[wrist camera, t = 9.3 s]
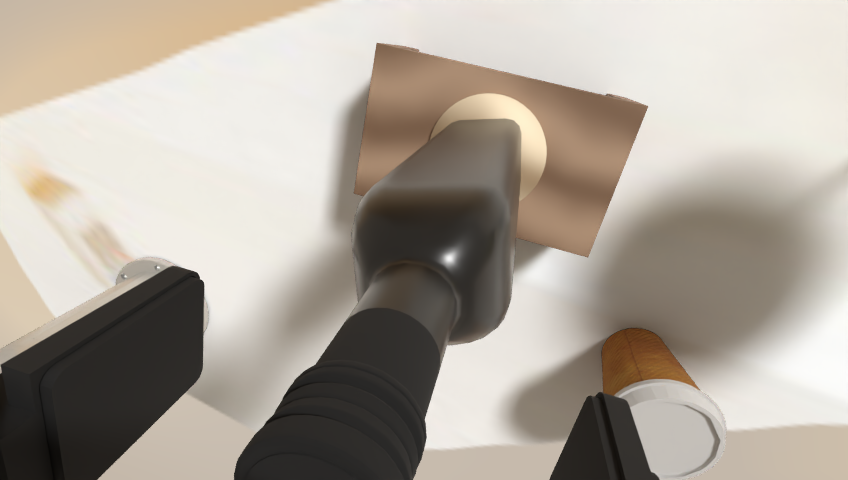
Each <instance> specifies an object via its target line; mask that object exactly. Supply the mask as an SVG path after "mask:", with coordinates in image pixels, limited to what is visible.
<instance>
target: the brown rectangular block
mask: <svg viewBox="0 0 848 480" xmlns="http://www.w3.org/2000/svg"><path fill="white" fill-rule="evenodd" d="M647 108H648V106H646V105H644V104H641V103H638V102H636V101H633V100H630V99H628V98H625V97H620V96H616V95H612V94H607V96H605V95H601V94H597V93H592V92H588V91H584V90H579V89H575V88H571V87H567V86H562V85H558V84H554V83H549V82H545V81H541V80H537V79H532V78H528V77H524V76H519V75H515V74H511V73H507V72H502V71H498V70H494V69H489V68H485V67H481V66H477V65H472V64H468V63H464V62H459V61H455V60H451V59H447V58H442V57H438V56H434V55H429V54H425V53H421V52H419V50H418V49H414V48H410V47H405V46H399V45H390V44H382V43H377V44H376V51H375V58H374V64H373V71H372V77H371V84H370V90H369V97H368V104H367V110H366V117H365V123H364V130H363V136H362V143H361V149H360V156H359V163H358V169H357V176H356V182H355V189H354V194H358V195H361V196H365V194H366V193H367V192H368V191H369V190H370V189H371V187H372V186H374V185H375V184H376V183H377V182H379V181H380V180H381V179H382V178H384V177H385V176H386V175H387V174H389V173H390V172H391V171H392V170H394V169H395V168H396V167H397V166H398V165H400V164H401V163H402V162H403V161H405V160H406V159H407V158H408V157H410V156H411V155H412V154H413V153H415V152H416V151H417V150H418V149H420V148H421V147H422V146H423V145H424V144H426V143H427V142H428V141H429V140H431V139H432V138H433V137H434V136H436V135H437V134H438V133H439V132H441V131H442V130H443V129H444V128H446V127H447V126H448V125H449V124H450V123H452V122H455V121H458V120H477V119H503V118H506V119H510V120H514V121H515V122H516V123H517V124H518V125H519V126H520V130H521V184H520V196H519V208H518V220H517V233H516V238H519V239H523V240H526V241H530V242H534V243H537V244H541V245H545V246H548V247H552V248H556V249H559V250H563V251H566V252H570V253H574V254H577V255H581V256H585V257H588V256H589V254H590V251H591V248H592V246H593V243H594V241H595V238H596V236H597V233H598V231H599V228H600V226H601V223H602V221H603V218H604V216H605V213H606V211H607V208H608V206H609V203H610V201H611V198H612V196H613V193H614V191H615V188H616V186H617V183H618V181H619V178H620V176H621V173H622V171H623V168H624V166H625V163H626V161H627V158H628V156H629V153H630V151H631V148H632V146H633V143H634V141H635V138H636V136H637V133H638V131H639V128H640V126H641V123H642V121H643V118H644V116H645V113H646V111H647Z"/></svg>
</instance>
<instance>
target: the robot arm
mask: <svg viewBox="0 0 848 480" xmlns="http://www.w3.org/2000/svg"><path fill="white" fill-rule="evenodd" d="M207 324H208V307H207V303H206V300H205V298H204V282H203V281H202V280H200V277H199V275H198V273H196V272H194V271H191V270H188V269H184V268H181V267H178V266H176V265H174V264H172V263H171V262H168V261H166V260H163V259H159V258H153V257H146V258H140V259H137V260H135V261H133V262H131V263H129V264H127V265H126V266H125V267H123V268H122V270H121V271H120V272H119V274H118V277H117V279H116V285H115V286H114V287H112V288H110V289H108V290H106V291H105V292H103V293H101V294H99V295H97V296H96V297H94V298H92V299H90V300H88V301H86V302H85V303H83V304H81V305H79V306H77V307H75V308H74V309H72V310H70V311H68V312H66V313H65V314H63V315H61V316H59V317H57V318H55V319H54V320H52V321H50V322H48V323H47V324H45V325H43V326H41V327H39V328H37V329H35V330H34V331H32V332H30V333H28V334H26V335H25V336H23V337H21V338H19V339H17V340H16V341H14V342H12V343H10V344H8V345H6V346H5V347H3V348H1V349H0V480H97V479H98V478H99V477H100V476H101V475H102V474H103V473H104V472H105V471H106V470H107V469H108V468H109V467H110V466H111V465H112V464H113V463H114V462H115V461H116V460H117V459H118V458H120V457H121V456H122V455H123V454H124V452H126V451H127V450H128V449H129V448H130V446H132V444H134V443H135V442H136V441H137V440H138V439H139V438H140V437H141V436H142V435H143V434H144V433H145V432H146V431H147V430H148V429H149V428H150V427H151V426H152V425H153V424H154V423H155V422H156V421H157V420H158V419H159V418H160V417H161V416H162V415H163V414H164V413H165V412H166V411H167V410H168V409H169V408H170V407H171V406H172V405H173V404H174V403H175V402H176V401H177V400H178V399H179V398H180V397H181V396H182V395H183V394H184V393H185V392H186V391H187V390H188V389H189V388H190V387H191V386H192V385H194V384H195V382H196V381H197V380H198V378H199V377H200V375H201V372H202V368H203V333H204V331H205V329H206V328H207ZM550 480H660V479H659V477H658V476H657V475H656V474H655V473H653V472H651V471H650V467H649V464H648V461H647V458H646V455H645V452H644V449H643V446H642V443H641V440H640V437H639V434H638V431H637V428H636V425H635V422H634V419H633V415H632V412H631V409H630V406H629V404H628V402H627V400H625V399H622V398H619V397H616V396H612V395H609V394H605V393H602V392H599V393H598V394H597V395H596V396H595V397H592V396H588V397H587V399H586V400H585V402H584V405H583V407H582V409H581V411H580V413H579V416H578V418H577V420H576V422H575V424H574V426H573V429H572V431H571V433H570V435H569V437H568V440H567V442H566V444H565V446H564V449H563V451H562V453H561V455H560V457H559V460H558V462H557V464H556V466H555V468H554V470H553V472H552V475H551V477H550Z"/></svg>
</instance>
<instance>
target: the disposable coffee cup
mask: <svg viewBox="0 0 848 480" xmlns="http://www.w3.org/2000/svg"><path fill="white" fill-rule="evenodd" d="M602 372H603V393H605V394H609V395H612V396H616V397H619V398H622V399H625V400H627V402H628V404H629V406H630V409H631V412H632V415H633V419H634V422H635V425H636V428H637V431H638V434H639V437H640V440H641V443H642V446H643V449H644V452H645V455H646V458H647V461H648V464H649V467H650V471H651V472H653V473H655V474H656V475H657V476H658V477H659V479H660V480H686V479H689V478H692V477H695V476H698V475H701V474H702V473H704V472H706V471H707V470H709V469H710V468H712V467H713V466H714V465H715V464H716V463H717V461H719V459H720V458H721V456H722V454H723V452H724V448H725V443H726V441H725V440H726V437H725V436H726V421H725V418H724V416H723V413H722V412H721V410H720V408H719V407H718V405H717V404H716V403H715V402H714V401H713V400H712V399H711V398H710V397H709V396H708V395H706V394H704V393H703V392H701V391H700V390H699V388H698V387H697V386H696V384H695V383H694V381H693V380H692V379H691V378H690V376H689V375H688V374H687V373H686V371H685V370H684V369H683V367H682V366H681V365H680V363H679V362H678V361H677V359H676V358H675V357H674V356H673V354H672V353H671V352H670V350H669V349H668V348H667V346H666V345H665V344H664V342H663V341H662V340H661V338H659V337H658V336H657V335H656V334H654V333H653V332H651V331H648V330H645V329H639V328H630V329H625V330H621V331H619V332H616V333H615V334H613V335H612V336H610V337H609V338H608V339H607V340H606V342H605V344H604V345H603V349H602Z"/></svg>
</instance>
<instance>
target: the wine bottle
mask: <svg viewBox="0 0 848 480" xmlns="http://www.w3.org/2000/svg"><path fill="white" fill-rule="evenodd" d="M520 184H521V130H520V126H519V125H518V124H517V123H516V122H515V121H514V120H510V119H506V118H503V119H477V120H458V121H455V122H452V123H450V124H449V125H448V126H447V127H446V128H444V129H443V130H442V131H441V132H439V133H438V134H437V135H436V136H434V137H433V138H432V139H431V140H429V141H428V142H427V143H426V144H424V145H423V146H422V147H421V148H420V149H418V150H417V151H416V152H415V153H413V154H412V155H411V156H410V157H408V158H407V159H406V160H405V161H403V162H402V163H401V164H400V165H398V166H397V167H396V168H395V169H394V170H392V171H391V172H390V173H389V174H387V175H386V176H385V177H384V178H382V179H381V180H380V181H379V182H377V183H376V184H375V185H374V186H372V187H371V189H370V190H369V191H368V192H367V193H366V194H365V196H364V197H363V198H362V200H361V201H360V203H359V205H358V208H357V212H356V216H355V220H354V224H353V228H352V232H351V238H352V249H353V258H354V268H355V277H356V287H357V296H358V304H357V305H356V307H355V308H354V310H353V311H352V313H351V314H350V315H349V317H348V318H347V320H346V321H345V323H344V324H343V326H342V327H341V328H340V330H339V331H338V333H337V334H336V336H335V337H334V339H333V340H332V341H331V343H330V344H329V346H328V347H327V349H326V350H325V352H324V353H323V354H322V356H321V357H320V359H319V360H318V362H317V363H316V365H314V366H312V367H311V368H309V369H307V370H305V371H304V372H303V373H302V374H301V375H300V376H299V377H297V378H296V379H295V381H294V382H293V384H292V385H291V386H290V388H289V389H288V391H287V392H286V394H285V395H284V397H283V400H282V401H281V403H280V404H279V406H278V408H277V409H276V411H275V413H274V415H273V416H272V417H271V418H270V419H269V420H268V421H267V422H266V423H265V425H264V426H263V428H261V429H260V430H259V431H258V432H257V433H256V434H255V435H254V437H253V438H252V440H251V441H250V442H249V444H248V445H247V446H246V448H245V449H244V451H243V452H242V454H241V455H240V457H239V458H238V461H237V464H236V468H235V473H234V480H413V478H414V476H415V474H416V469H417V467H418V465H419V463H420V461H421V458H422V454H423V451H424V447H425V443H426V424H425V416H426V413H427V410H428V406H429V403H430V400H431V396H432V393H433V390H434V387H435V383H436V380H437V377H438V373H439V370H440V367H441V363H442V360H443V357H444V354H445V350H446V347H447V345H457V344H463V343H470V342H473V341H476V340H478V339H481V338H484V337H485V336H486V335H488V334H489V333H491V332H492V331H493V330H495V329H496V328H497V327H498V326H499V325H500V323H501V322H502V321H503V320H504V318H505V315H506V312H507V310H508V307H509V304H510V301H511V294H512V282H513V269H514V257H515V245H516V233H517V220H518V208H519V196H520Z"/></svg>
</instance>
